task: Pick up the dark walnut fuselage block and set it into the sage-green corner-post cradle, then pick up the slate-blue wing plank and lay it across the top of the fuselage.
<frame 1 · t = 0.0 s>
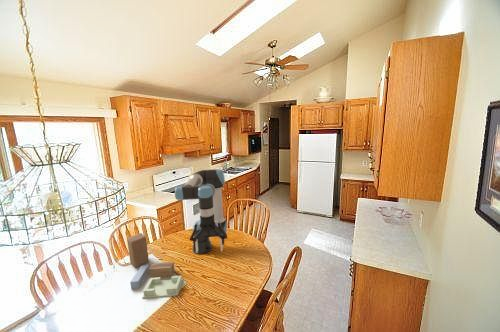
hand: (209, 250, 115), 28 cm above the table, fingers open, 13 cm apart
jig: (163, 288, 126), on the table
wooden block: (139, 262, 153), on the table
wing: (140, 279, 135), on the table
fuselage: (162, 274, 139), on the table
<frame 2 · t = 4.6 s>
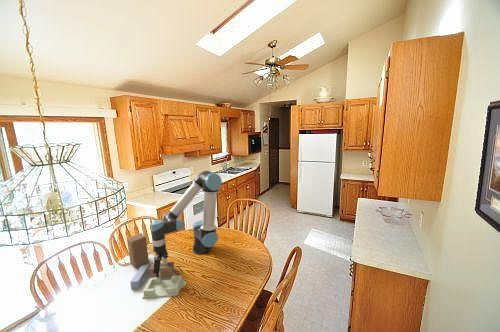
hand: (162, 273, 138), 1 cm above the table, fingers open, 13 cm apart
nothing on the table moved.
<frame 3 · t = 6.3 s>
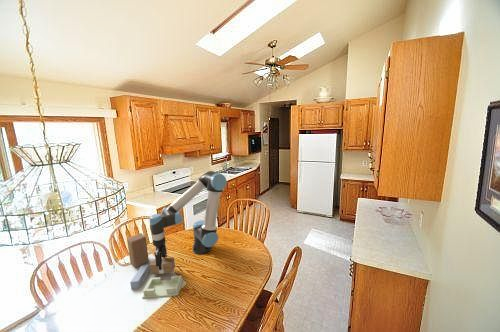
hand: (163, 269, 138), 3 cm above the table, fingers closed on fuselage, 6 cm apart
fuselage: (163, 270, 139), point 3 cm above the table, touching gripper
everything else where it was.
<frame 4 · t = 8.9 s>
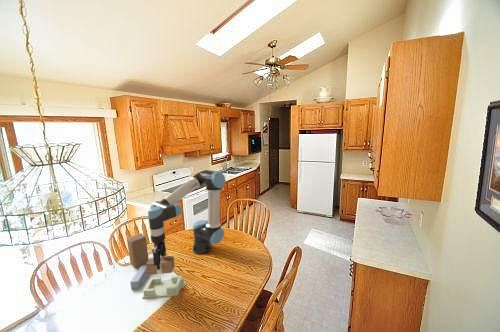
hand: (161, 269, 124), 13 cm above the table, fingers closed on fuselage, 6 cm apart
fuselage: (161, 270, 124), point 12 cm above the table, touching gripper
everything else where it was.
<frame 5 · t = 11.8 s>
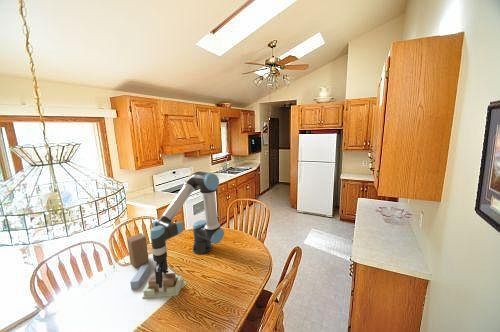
hand: (163, 287, 126), 1 cm above the table, fingers closed on fuselage, 6 cm apart
fuselage: (163, 287, 126), point 1 cm above the table, touching gripper, jig
everything else where it was.
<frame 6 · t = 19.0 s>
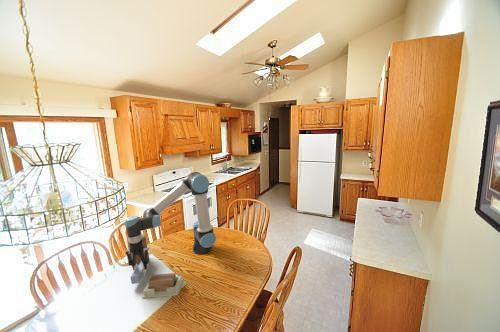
hand: (141, 273, 134), 4 cm above the table, fingers closed on wing, 4 cm apart
wing: (141, 274, 135), point 3 cm above the table, touching gripper
fuselage: (163, 287, 126), point 1 cm above the table, touching jig
everything else where it was.
when the fingers open (8 cm above the table, at t = 23.9 s): wing stays where it is, resting on fuselage.
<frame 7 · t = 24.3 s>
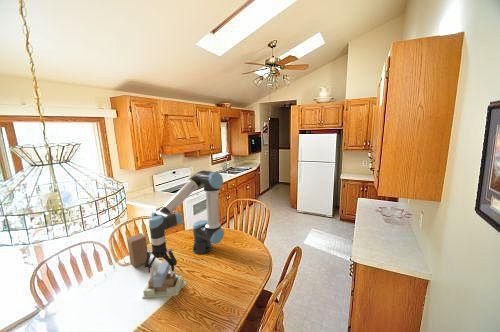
hand: (162, 276, 125), 8 cm above the table, fingers open, 11 cm apart
wing: (162, 277, 125), point 8 cm above the table, touching fuselage
fuselage: (163, 287, 126), point 1 cm above the table, touching jig, wing
everything else where it was.
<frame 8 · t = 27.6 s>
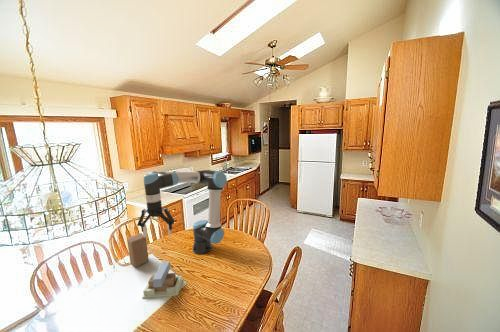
hand: (157, 235, 120), 35 cm above the table, fingers open, 13 cm apart
nothing on the table moved.
at the end: fuselage 0.2 cm off-centre on the jig, point 0.8 cm above the jig's base; wing inside the target area on the fuselage (0.2 cm from its centre), point 7.0 cm above the fuselage's base; wing touching fuselage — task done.
